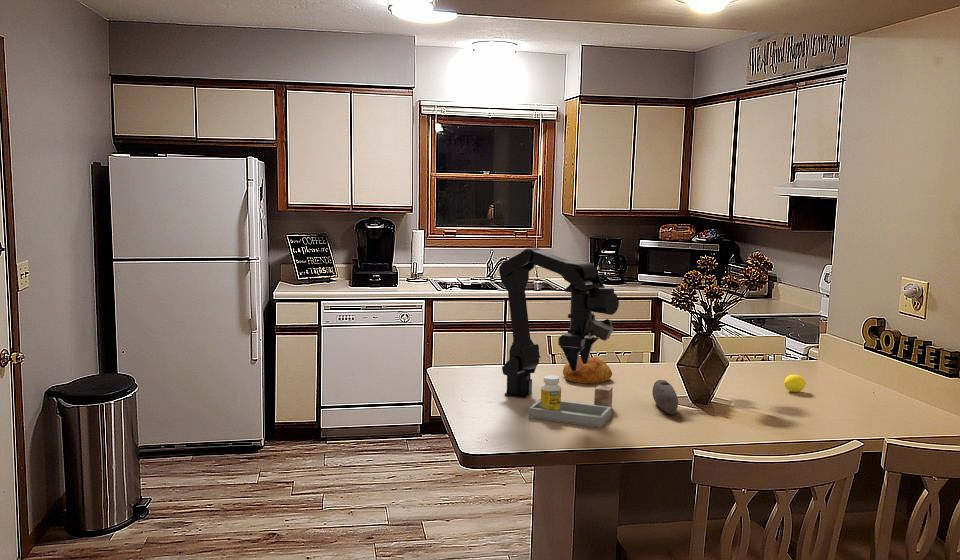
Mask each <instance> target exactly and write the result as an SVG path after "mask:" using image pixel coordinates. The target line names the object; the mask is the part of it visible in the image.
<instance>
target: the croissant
mask: <svg viewBox="0 0 960 560" xmlns="http://www.w3.org/2000/svg"><path fill="white" fill-rule="evenodd" d="M562 374H563V376H564V378H565V380H566V381H569V382H573V383H578V384H585V385H586V384H590V385H598V384H599V385H600V383H604V382H607V381H609V380H610V379H611V378H612V376H613V372H612V369H611V368H610V366H609V365H608V364H607V363H606V362H605V361H603V360H601V359H599V358H597V357H593V356H592V357H591V356H589V358H588V362H587V364H583V362H582V359H581V355H579V358H578V364H577V369H576V371H572V369H571V367H570V365H569V362H568V361H567V362H565V364H564V366H563V370H562Z"/></svg>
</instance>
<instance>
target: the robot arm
mask: <svg viewBox="0 0 960 560" xmlns="http://www.w3.org/2000/svg"><path fill="white" fill-rule="evenodd" d="M536 266H538V267H539V268H543V269H545V270H548V271H550V272H553V273H556V274H557V275H560V276H561V277H562V279H563V280H564V281H566V282H568V283H569V285H568V286H567V287H565V288H564V290H563V291H564V292H565V293H570V311H569V312H570V313H568V314H567V318H568V319H569V328H568V329H567V332H566V333H564V334H561V335H560V336H559V337H558V344H557V345H558V346H559V347H560V348H561V350H562V352H563V354H564V355H565V358H566V359H567V362H569V365H570V367H571V369H572V371H576V369H577V364H578V358H579V356H581V359H582V362H583V364H587V362H588V358H589V357H590V354H591V351H592V348H593V345H594V344H595V343H596V342H597V341H599V340H602V341H607V340H609V339H610V337H611V335H612V333H613V332H614V326H613V322H612V320H611V319H610V318H605V319H604V320H603V321H602V320H598V319H596V314H595V313H597V314H604V315H610V316H613V315H614V314H616V313H617V312H618V309H619V305H620V300H619V298H618V296H617V294H616V293H615V289H614V288H613V287H612V288H611V287H610V288H608V287H605V285H604V283H603V282H602V279H601V277H600V275H599V273H598V272H597V269H596V266H595V265H594V264H593V263H591V262H585V261H576V260H568V259H566V258H564V257H560V256H557V255H556V254H553V253H550V252H547V251H545V250H541V249H540V248H538V247H532V248H531V247H530V248H529V247H528V248H525V249H523V251H521V252H520V253H518V254H516V255H514V256H512V257H511V258H508V259H506V260H503V261H502V262H501V263H500V265H499V266H498V272H499V277H500V280H501V283H502V285H503V286H504V288H505V290H507V291H506V292H507V294H508V297H507V298H508V303H509V312H510V313H509V315H510V320H511V321H510V323H511V330H512V338H513V339H512V340H513V341H512V343H511V346H510V349H509V351H508V352H509V356H508V357H509V359H508V361H506V363H504V365H502V367H501V370H502V374H503V375H504V376H506V392H505V393H504V396H506V397H515V398H522V399H526V398H527V397H528V396H530V395H532V394H533V379H532V378H531V374H535V372H536V369H537V366H538V365H539V364H540V359H541V358H542V357H541V355H540V345H539V344H538V343H536V344H535V343H534V341H532V339H531V332H530V324H529V323H530V322H529V316H528V315H529V313H528V307H527V297H526V295H527V294H526V287H527V285H528V282H529V279H530V277H529V276H530V271H531V272H532V270H533V269H534V268H535V267H536Z"/></svg>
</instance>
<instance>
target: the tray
mask: <svg viewBox="0 0 960 560" xmlns="http://www.w3.org/2000/svg"><path fill="white" fill-rule="evenodd" d="M611 417H612V408H611V407H606V406H598V405H594V404H589V403H581V402H574V401H566V400H561V409H560V411H554V410H546V409H541V398H539V400H537V401H536V402H535V403H533V404H532V405H531V406H530V407H528V418H529V419H537V420H542V421H543V420H544V421H550V422H556V423H557V422H558V423H564V424H571V425H578V426H583V427H584V426H586V427H592V428H600V429H601V428H602V427H603V426H605V424H606V423H607V422H608V421H609V420H610V419H611Z"/></svg>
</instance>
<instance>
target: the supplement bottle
mask: <svg viewBox="0 0 960 560" xmlns="http://www.w3.org/2000/svg"><path fill="white" fill-rule="evenodd" d="M559 383H560V377H559V376H556V375H545V376H544V377H543V384H542V385H541V387H540V388H541V389H540V399H541V409H546V410H554V411H560V409H561V401H562V386H561V384H559Z"/></svg>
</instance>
